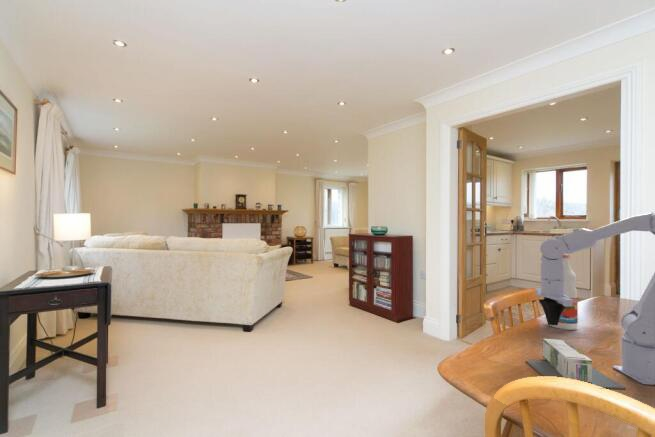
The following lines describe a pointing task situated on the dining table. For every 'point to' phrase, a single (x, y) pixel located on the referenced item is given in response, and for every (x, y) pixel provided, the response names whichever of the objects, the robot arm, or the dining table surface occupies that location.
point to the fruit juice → (569, 313)
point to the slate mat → (549, 370)
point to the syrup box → (567, 360)
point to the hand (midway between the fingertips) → (552, 324)
